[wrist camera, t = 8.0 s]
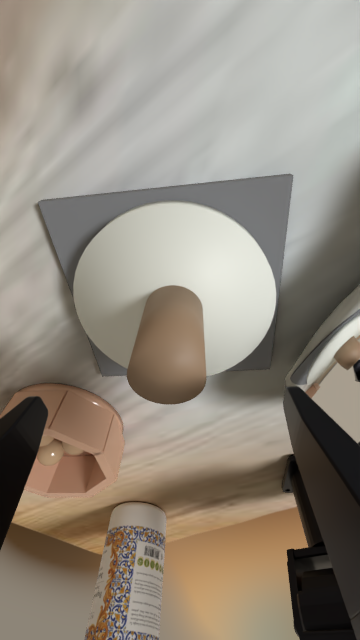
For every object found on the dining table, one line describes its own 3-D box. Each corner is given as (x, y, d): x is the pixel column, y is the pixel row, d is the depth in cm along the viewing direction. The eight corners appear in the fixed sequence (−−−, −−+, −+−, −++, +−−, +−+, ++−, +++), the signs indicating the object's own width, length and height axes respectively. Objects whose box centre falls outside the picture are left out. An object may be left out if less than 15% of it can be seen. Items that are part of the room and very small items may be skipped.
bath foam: (122, 495, 32) (47, 877, 16) (175, 508, 34) (159, 870, 17) (105, 515, 36) (31, 843, 19) (154, 526, 37) (124, 839, 21)
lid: (263, 364, 19) (289, 451, 14) (107, 370, 20) (77, 454, 15) (281, 188, 12) (341, 228, 7) (52, 211, 13) (-35, 260, 8)
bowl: (133, 451, 27) (124, 497, 23) (36, 453, 27) (14, 497, 24) (107, 380, 21) (91, 427, 18) (-14, 385, 22) (-51, 430, 19)
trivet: (268, 364, 19) (270, 369, 19) (104, 371, 20) (102, 376, 20) (289, 173, 13) (293, 175, 12) (42, 200, 14) (37, 202, 13)
